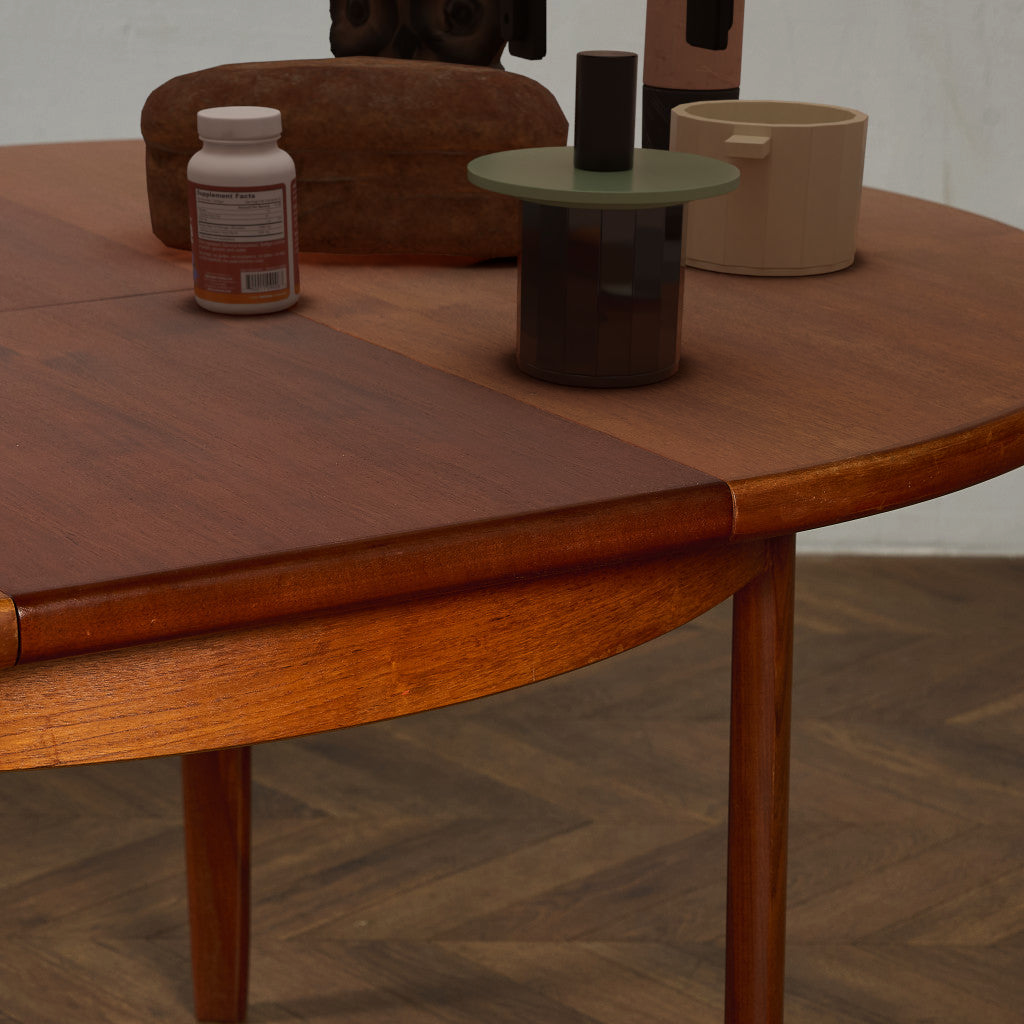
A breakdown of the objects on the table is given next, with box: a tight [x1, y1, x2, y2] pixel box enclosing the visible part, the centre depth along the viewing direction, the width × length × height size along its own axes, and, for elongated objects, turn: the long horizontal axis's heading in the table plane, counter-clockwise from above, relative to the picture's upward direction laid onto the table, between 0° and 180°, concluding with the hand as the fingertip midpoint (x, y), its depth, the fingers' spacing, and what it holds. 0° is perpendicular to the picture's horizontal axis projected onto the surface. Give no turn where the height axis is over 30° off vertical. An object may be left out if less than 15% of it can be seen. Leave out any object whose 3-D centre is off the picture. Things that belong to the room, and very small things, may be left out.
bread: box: [139, 56, 570, 259], centre depth 109 cm, size 14×28×12 cm, turn 90°
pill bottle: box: [187, 106, 301, 315], centre depth 94 cm, size 6×6×11 cm
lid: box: [467, 49, 740, 210], centre depth 81 cm, size 14×14×7 cm
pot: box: [669, 99, 869, 277], centre depth 109 cm, size 13×18×10 cm
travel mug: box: [641, 0, 746, 151], centre depth 128 cm, size 8×8×20 cm
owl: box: [328, 0, 508, 71], centre depth 128 cm, size 13×13×20 cm
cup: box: [515, 199, 689, 389], centre depth 83 cm, size 8×8×9 cm
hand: (618, 52), depth 79 cm, fingers open, 9 cm apart
